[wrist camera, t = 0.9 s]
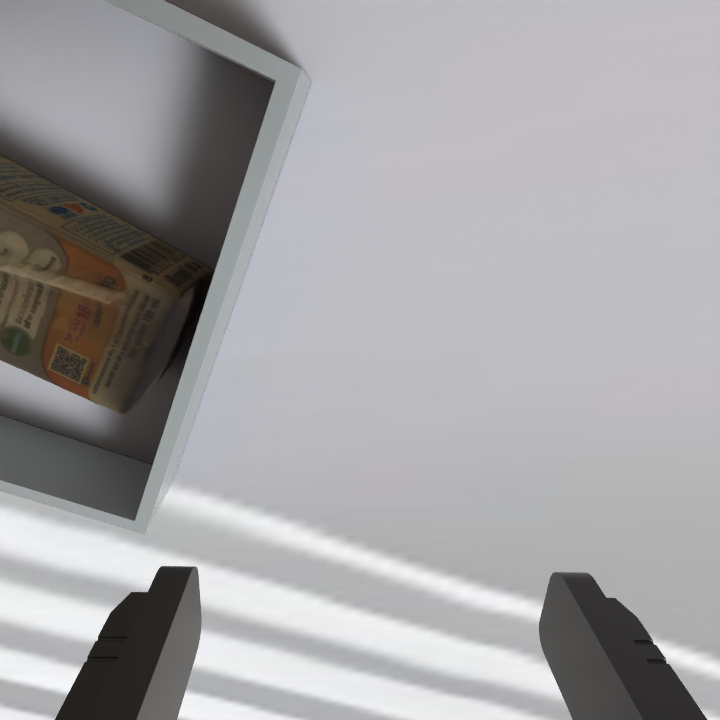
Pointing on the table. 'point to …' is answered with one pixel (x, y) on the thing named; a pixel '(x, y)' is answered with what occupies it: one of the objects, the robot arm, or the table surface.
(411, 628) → the table surface
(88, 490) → the tote tray
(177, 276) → the beverage carton
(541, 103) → the table surface
